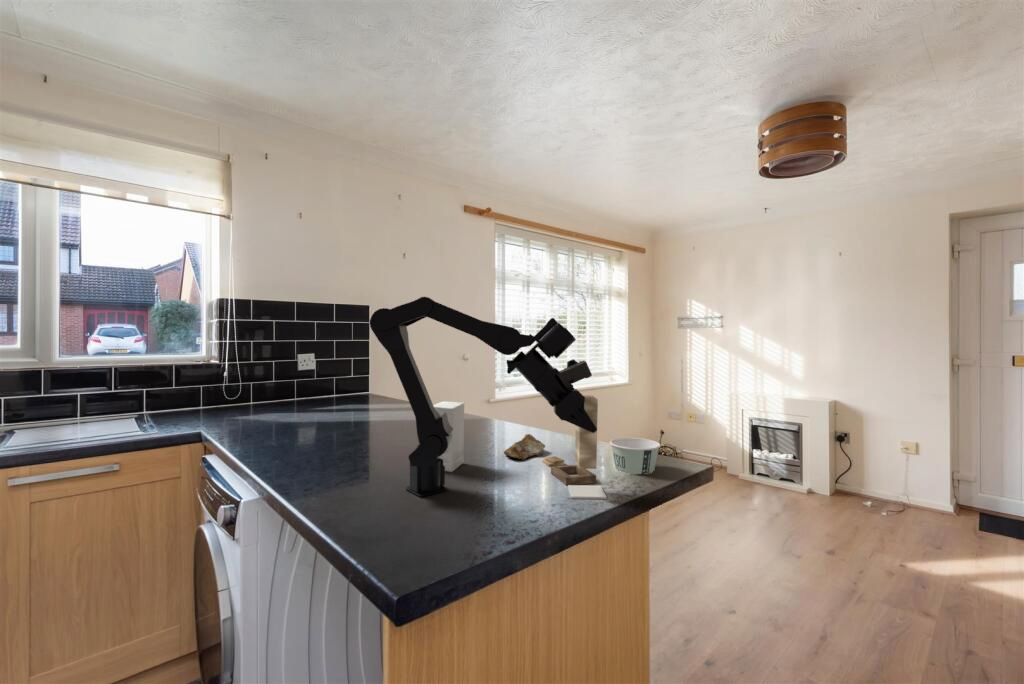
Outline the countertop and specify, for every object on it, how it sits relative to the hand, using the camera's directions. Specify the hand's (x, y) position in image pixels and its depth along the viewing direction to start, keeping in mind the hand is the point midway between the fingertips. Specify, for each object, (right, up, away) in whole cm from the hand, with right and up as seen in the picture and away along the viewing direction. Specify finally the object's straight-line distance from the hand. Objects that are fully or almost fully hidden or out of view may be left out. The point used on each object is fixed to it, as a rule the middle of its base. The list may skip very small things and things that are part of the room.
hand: (592, 428), depth 97 cm
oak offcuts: (-6, -13, +22) cm, 26 cm away
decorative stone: (-13, -13, +30) cm, 36 cm away
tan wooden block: (-1, -8, 0) cm, 8 cm away
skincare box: (-33, -13, +18) cm, 40 cm away
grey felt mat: (-1, -13, 0) cm, 13 cm away
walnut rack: (-3, -13, +10) cm, 17 cm away
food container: (+13, -13, +17) cm, 25 cm away
